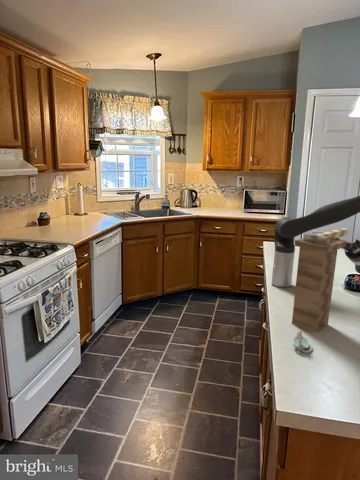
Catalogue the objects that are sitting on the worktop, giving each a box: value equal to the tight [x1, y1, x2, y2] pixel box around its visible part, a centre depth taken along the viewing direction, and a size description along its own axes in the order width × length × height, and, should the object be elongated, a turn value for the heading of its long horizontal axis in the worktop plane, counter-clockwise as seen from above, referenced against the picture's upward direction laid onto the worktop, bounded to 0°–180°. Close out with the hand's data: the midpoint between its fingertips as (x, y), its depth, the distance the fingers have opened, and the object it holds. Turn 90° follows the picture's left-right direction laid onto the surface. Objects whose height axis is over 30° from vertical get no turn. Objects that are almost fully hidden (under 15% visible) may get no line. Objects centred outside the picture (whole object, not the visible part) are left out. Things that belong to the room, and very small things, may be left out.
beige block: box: [302, 227, 349, 245], centre depth 128 cm, size 24×8×2 cm, turn 131°
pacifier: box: [292, 329, 313, 354], centre depth 112 cm, size 7×6×6 cm
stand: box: [291, 238, 348, 333], centre depth 127 cm, size 14×12×32 cm
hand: (345, 239), depth 137 cm, fingers open, 8 cm apart
